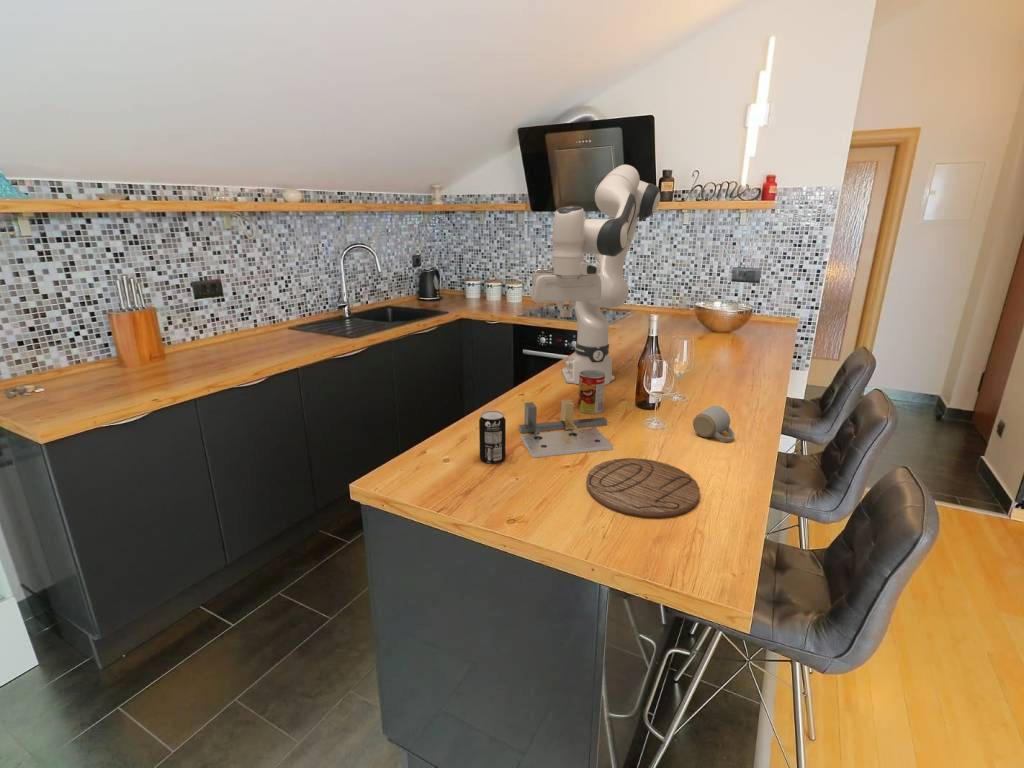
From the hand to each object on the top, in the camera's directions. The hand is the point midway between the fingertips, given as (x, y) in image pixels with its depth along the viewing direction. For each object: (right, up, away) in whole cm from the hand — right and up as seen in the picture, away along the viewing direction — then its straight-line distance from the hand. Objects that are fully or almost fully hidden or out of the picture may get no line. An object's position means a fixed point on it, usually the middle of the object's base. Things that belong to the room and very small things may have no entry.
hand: (565, 316), depth 153 cm
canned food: (+10, -27, +17) cm, 34 cm away
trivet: (+14, -44, -31) cm, 55 cm away
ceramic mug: (+42, -34, -2) cm, 54 cm away
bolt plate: (-1, -35, -8) cm, 36 cm away
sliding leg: (+1, -32, 0) cm, 32 cm away
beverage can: (-20, -38, -16) cm, 46 cm away
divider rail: (0, -33, 0) cm, 33 cm away
